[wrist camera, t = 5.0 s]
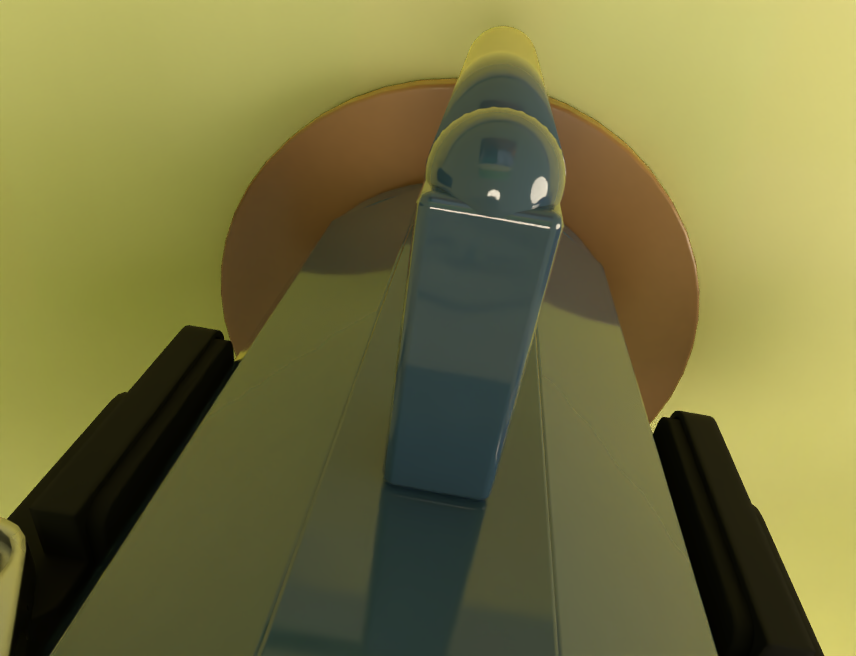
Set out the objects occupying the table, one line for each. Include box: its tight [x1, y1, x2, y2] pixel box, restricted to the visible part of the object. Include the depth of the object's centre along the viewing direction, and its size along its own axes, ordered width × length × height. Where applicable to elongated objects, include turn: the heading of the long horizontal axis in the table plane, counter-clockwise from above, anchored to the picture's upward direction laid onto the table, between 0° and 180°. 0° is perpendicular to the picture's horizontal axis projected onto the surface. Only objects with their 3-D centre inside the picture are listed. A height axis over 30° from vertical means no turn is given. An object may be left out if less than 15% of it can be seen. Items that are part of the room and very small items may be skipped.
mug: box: [39, 26, 718, 656], centre depth 8 cm, size 10×7×10 cm
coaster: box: [221, 78, 699, 424], centre depth 14 cm, size 10×10×1 cm
